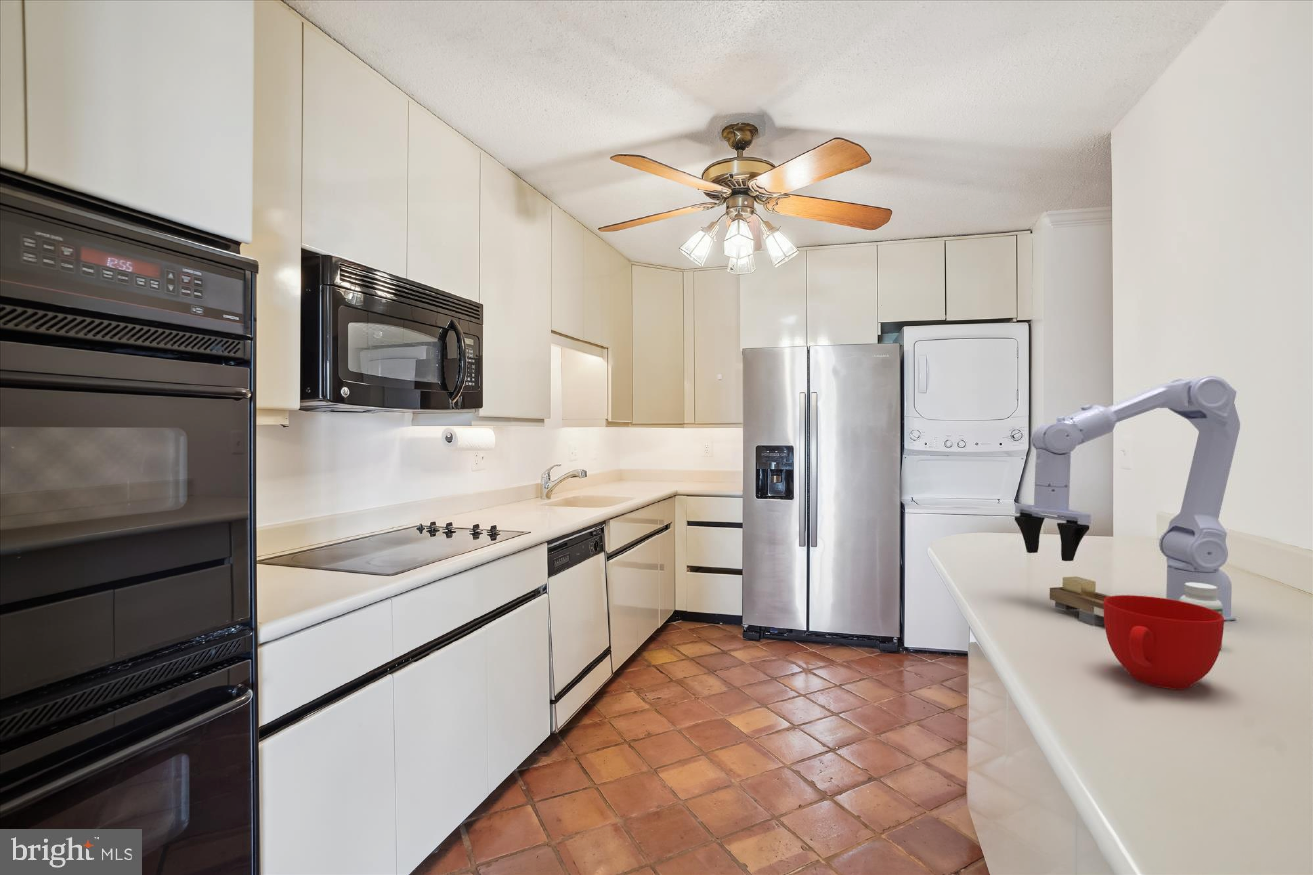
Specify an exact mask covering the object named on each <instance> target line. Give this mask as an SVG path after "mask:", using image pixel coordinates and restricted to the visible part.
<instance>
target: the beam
mask: <svg viewBox="0 0 1313 875" xmlns="http://www.w3.org/2000/svg"><path fill="white" fill-rule="evenodd" d="M1109 596H1110V595H1108V594H1104V593H1101V592H1098V591H1095V599H1091V598H1088V597H1085V596H1081V595H1078V594H1074V593H1071V592H1068V591H1064V590H1063V586H1059V587H1058V586H1056V587H1055V586H1054V587H1049V600H1050V601H1053V602H1054V607H1055V608H1058V609H1062V610H1064V611H1076V610H1079V611H1078V614H1079V615H1078V617H1079V619H1078V620H1079V622H1082V623H1084V622H1085V624H1087V625H1090V624H1091V626H1093V625H1099V626H1105V624H1104V611H1103V601H1104V599H1105V598H1106V597H1109Z"/></svg>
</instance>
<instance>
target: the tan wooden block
mask: <svg viewBox="0 0 1313 875" xmlns="http://www.w3.org/2000/svg"><path fill="white" fill-rule="evenodd" d="M1096 586H1097V585H1096V581H1095V580H1091V579H1087V578H1084V577H1080V576H1063V577H1062V587H1063V590H1064V591H1068V592H1071V593H1074V594H1078V595H1081V596H1085V597H1088V598H1091V599H1095V592H1097V591H1096Z"/></svg>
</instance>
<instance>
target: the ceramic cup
mask: <svg viewBox="0 0 1313 875" xmlns="http://www.w3.org/2000/svg"><path fill="white" fill-rule="evenodd" d="M1108 596H1109V597H1106V598H1105V599H1104V601H1103V611H1104V624H1105V625H1104V629H1105V634H1106V639H1107V642H1108V645H1109V647H1110V649H1111V651H1112V654H1113V655H1114V657H1115V658H1116V660H1118V662H1119V663H1120V664H1121V666H1122V668H1124V669H1125V671H1126V672H1127V673H1128V674H1129V676H1130V677H1131V678H1133V679H1134V680H1136V681H1138V682H1141V683H1144V684H1147V685H1150V686H1154V687H1158V688H1162V689H1170V690H1171V689H1172V690H1187V689H1189V688H1191V687H1192V686H1193V685H1194V684H1195V683H1197V682H1199V681H1201V680H1202V679H1203V678H1205V677H1206V676H1207V675H1208V674H1209V673H1210V671H1211V670H1212V669H1213V667H1214V665H1215V664H1216V662H1217V659H1218V658H1219V654H1220V652H1221V648H1222V647H1221V643H1222V644H1223V637H1224V627H1225V620H1224V617H1223V616H1222V615H1221V614H1220V613H1218V612H1216V611H1214V610H1212V609H1209V608H1206V607H1202V606H1199V605H1195V604H1191V603H1187V602H1182V601H1176V600H1171V599H1166V598H1163V597H1157V596H1156V597H1155V596H1148V595H1147V596H1146V595H1132V594H1131V595H1130V594H1127V595H1124V594H1121V595H1108Z"/></svg>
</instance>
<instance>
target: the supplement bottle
mask: <svg viewBox="0 0 1313 875" xmlns="http://www.w3.org/2000/svg"><path fill="white" fill-rule="evenodd" d="M1184 591H1185V592H1186V593H1187V595H1183V596H1181V597H1180V599H1179V601H1182V602H1187V603H1191V604H1195V605H1199V606H1202V607H1206V608H1209V609H1212V610H1214V611H1216V612H1218V613H1220V614H1221V615H1222V614H1223V606H1222V603H1221V602H1220V601H1219V600H1217V599H1215V597H1216V596H1217V594H1218V593H1217V587H1216V586H1213V585H1209V584H1203V583H1194V582H1189V583H1185V586H1184ZM1222 647H1223V642H1222V643H1221V648H1222Z"/></svg>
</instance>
